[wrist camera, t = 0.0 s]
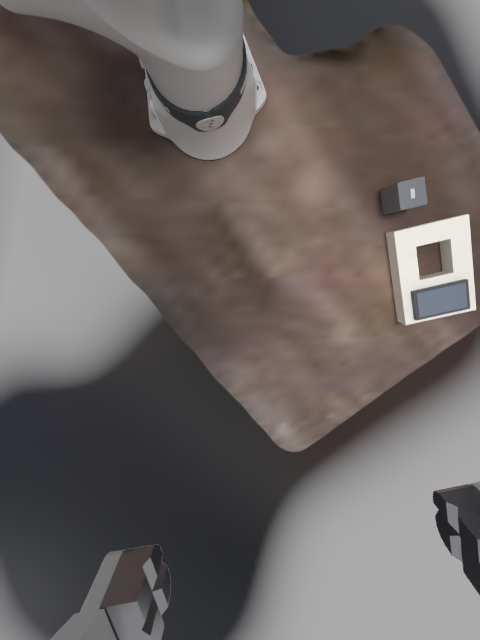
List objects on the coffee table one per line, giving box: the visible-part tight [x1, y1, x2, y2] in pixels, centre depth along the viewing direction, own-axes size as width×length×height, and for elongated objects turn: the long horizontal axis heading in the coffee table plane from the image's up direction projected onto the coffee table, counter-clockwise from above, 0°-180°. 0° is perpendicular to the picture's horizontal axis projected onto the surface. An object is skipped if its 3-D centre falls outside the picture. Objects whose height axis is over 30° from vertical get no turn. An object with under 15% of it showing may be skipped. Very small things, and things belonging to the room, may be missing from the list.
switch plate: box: [386, 214, 476, 325], centre depth 53 cm, size 16×12×4 cm
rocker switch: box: [380, 176, 427, 215], centre depth 49 cm, size 4×4×6 cm
